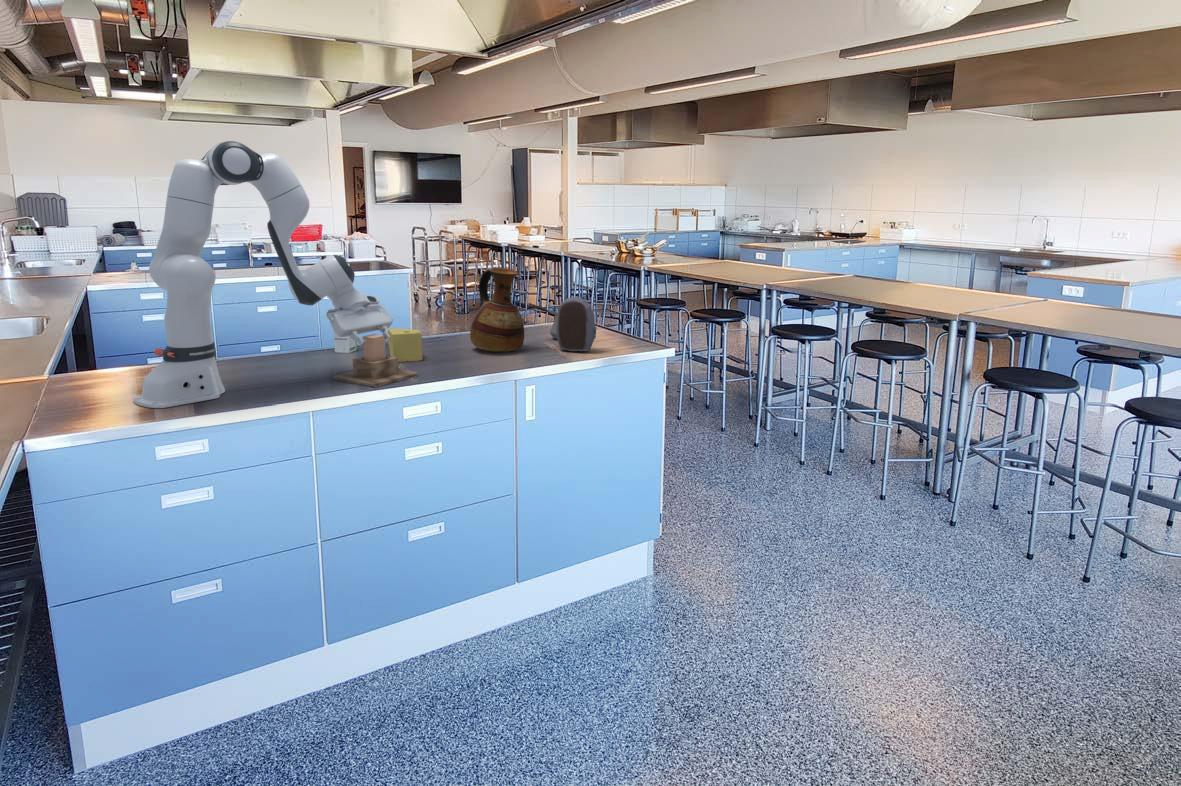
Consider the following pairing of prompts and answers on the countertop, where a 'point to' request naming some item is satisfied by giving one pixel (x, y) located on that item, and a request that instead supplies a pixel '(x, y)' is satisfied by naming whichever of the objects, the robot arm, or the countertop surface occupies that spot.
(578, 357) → the countertop surface
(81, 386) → the countertop surface
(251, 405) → the countertop surface
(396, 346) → the cheese
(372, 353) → the rust peg
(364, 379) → the socket stand
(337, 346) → the syrup box
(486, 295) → the ceramic pitcher
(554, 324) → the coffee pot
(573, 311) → the small grey backpack
